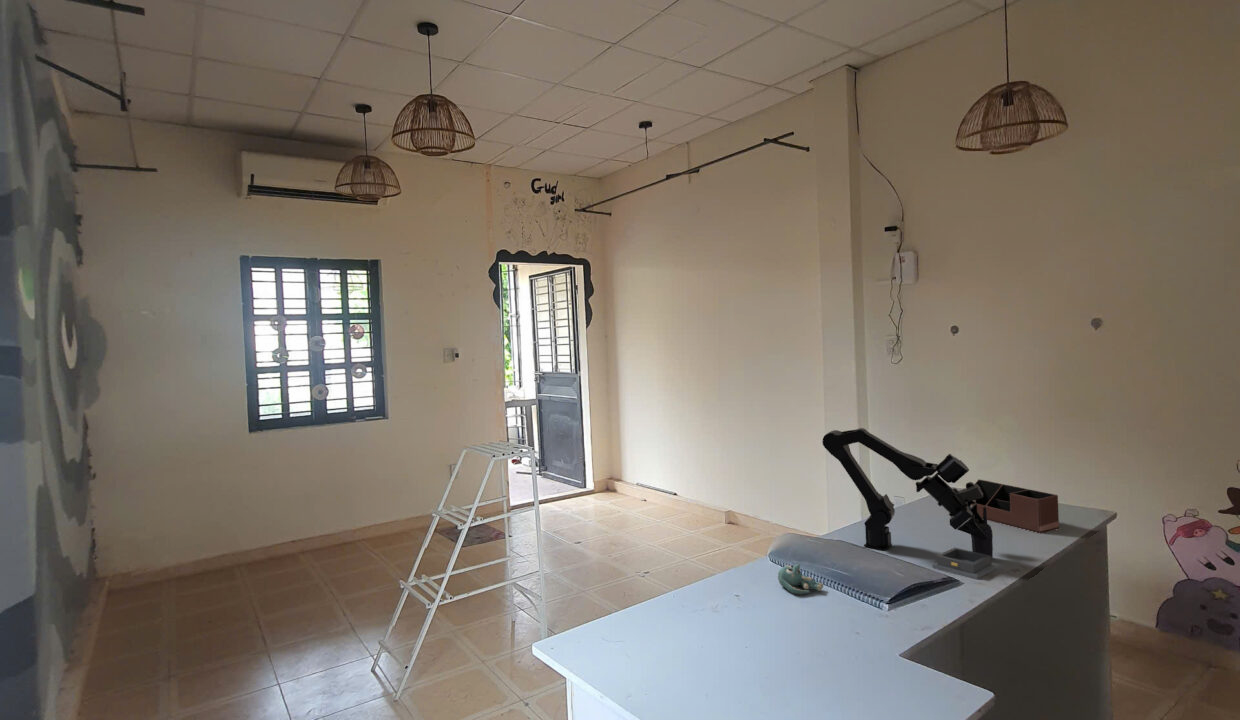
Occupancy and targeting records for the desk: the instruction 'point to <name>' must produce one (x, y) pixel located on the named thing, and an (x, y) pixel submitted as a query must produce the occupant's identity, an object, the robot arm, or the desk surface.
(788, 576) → the stuffed animal
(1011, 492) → the desk organizer
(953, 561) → the charging cradle
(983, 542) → the two-way radio
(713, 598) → the desk surface
